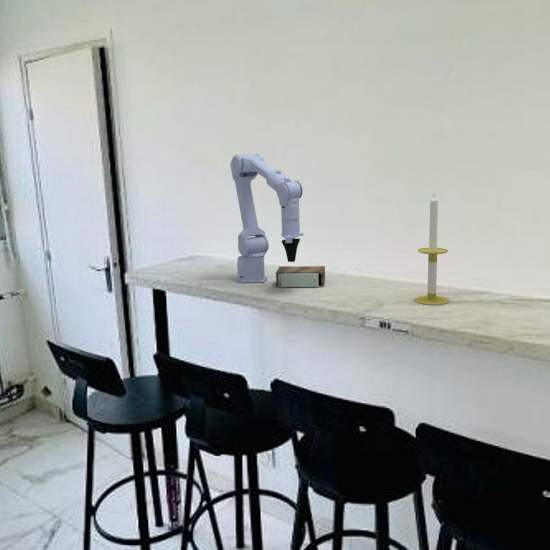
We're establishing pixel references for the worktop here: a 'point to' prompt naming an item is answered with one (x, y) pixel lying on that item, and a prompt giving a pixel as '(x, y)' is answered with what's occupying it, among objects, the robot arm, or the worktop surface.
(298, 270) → the cabinet
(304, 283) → the door
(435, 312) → the worktop surface
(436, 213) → the candle
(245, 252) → the robot arm
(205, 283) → the worktop surface
